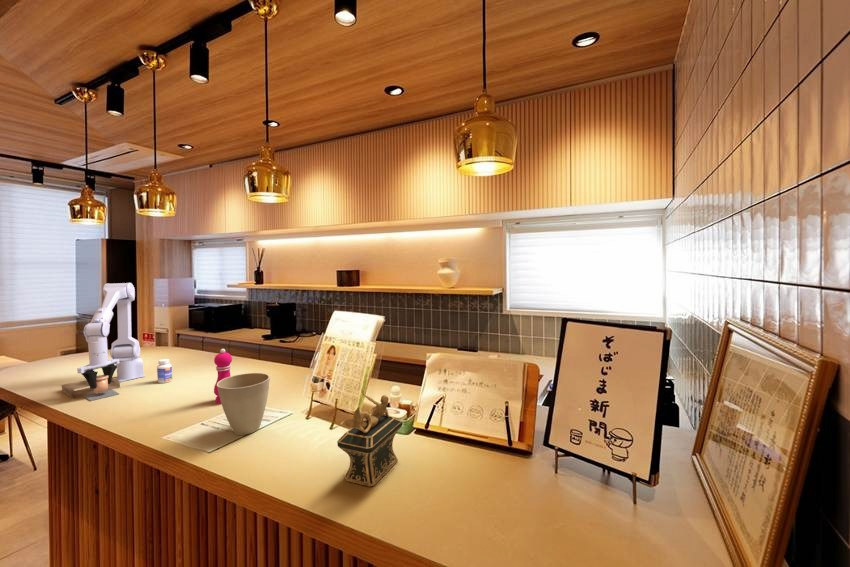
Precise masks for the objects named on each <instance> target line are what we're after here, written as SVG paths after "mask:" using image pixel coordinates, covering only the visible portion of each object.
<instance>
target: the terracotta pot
mask: <svg viewBox="0 0 850 567" xmlns="http://www.w3.org/2000/svg"><path fill="white" fill-rule="evenodd" d="M108 378H109V376H108V375H104V374H100V375H97V377H96V388H95V389H93V390H94V393H103V392H107V391H108Z"/></svg>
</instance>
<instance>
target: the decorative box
mask: <svg viewBox="0 0 850 567" xmlns="http://www.w3.org/2000/svg"><path fill="white" fill-rule="evenodd" d="M360 393H362V396H364V397H365V399H366V400H368V401H370V402H371V403H373V404H374V405H375V406H373V407H372V412H371V414H370V413H369V412H367V411H360V406H358V407H357V408H356V409H355V410H354V412H353V415H352V418H353V419H352V418H350V417H349V418H347V419H345V420H343V421H341V422H340V426H343V427H347V428H349V429H348V430H347V431H345V433H344V434H342V436H341V437H339V439H338V440H337V441H336V442H337V447H338V448H340V450H342V451H343V452H345V453H346V454H347V455H348V457H349V466H348V469H347V472H346V474H345V477H344V479H345V481H346V482H350V483H354V484H358V485H362V486H366V487H369V488H370V487H373V486H376V485H377V483H378V482H380V480H381V479H383V477H384V476H385V475H386V474H387V473H388V472H389V471H390V470H391V468H393V467H394V466H395V465H396V463H397V462H398V461H399V460H398V457H397V455H396V454H395V451H394V448H393V443H394V439H395V437H396V434H397V433H398V432H399V431H400V429H401V428H402V426H403V421H402V420H401V419H399V418H397V417H395V416H392V415H389V411H388V409H387V407H388V403H389V401H390V400H389V396H387V395H385V394H383V395H381V397H380V403H379V402H378V401H376V400H374V399H373V398H372V397H370V396H368V395H366V394H365V390H364V389H362V388H361V391H360Z"/></svg>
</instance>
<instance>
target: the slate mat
mask: <svg viewBox="0 0 850 567" xmlns="http://www.w3.org/2000/svg"><path fill="white" fill-rule="evenodd" d="M118 395H120V393H119V392H118V391H116V390H114V389H111V390H108V391H107V392H103V393H93V394H89V395H84V396H83V397H84V399H86V400H88V401H89V402H93V401H97V400H101V399H105V398H109V397H114V396H118Z"/></svg>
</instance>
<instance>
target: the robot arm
mask: <svg viewBox="0 0 850 567" xmlns="http://www.w3.org/2000/svg"><path fill="white" fill-rule="evenodd" d="M134 286H135V285H133V283H132V282H126V283H125V282H122V283H121V282H120V283H119V282H118V283H115V282H114V283H109V282H108V283H105V284H104V285H103V288H102V293H103V296H104V299H103V301H102V304H101V307H99V308H98V309H96V311H95V313H94V314H93V316H92V319H91V321H90V322H89V323H87V324H85V326H84V328H83V335H84V337H85V341H86V343H87V345H88V359H89V360H88V361H89V363H88V364H86V365H84V366H81V367H77V368H76V371H77V374H81V375H82V376H83V377H84V380H87V382H88V384H89V386H88V387H89V388H90V389H95V388H96V377H97V376H98V374H99V373H98V371H95V370H97V369H101V370H102V373H103V375H108V376H109V378H108V384H111V380H112V378H113V379H115V380H117V381H119V382H120V383H122V382H125V381H131V380H134V379H139V378H144V377H145V372H144V371H145V370H144V368H145V367H144V361H143V358H142V357H140V355H141V346H140V342H139V340H138V339H136V338H134V337H132V302H133V301H135V297H136V291H135V290H136V289H135V288H136V287H134ZM115 306H116V307H117V308H116V309H117V310H116V311H117V339H116V340H114V341H113V342H112V343H111V348H110V351H108V350H109V349H108V339H107V337H108V336H109V334H110V326H111V324H110V323H111V321H112V319H113V317H114V312H113V309H114V308H115ZM109 352H110V354H108V353H109ZM109 355H110V357H111V359H109ZM115 372H116V376H117V377H113V376H114V373H115Z"/></svg>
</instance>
